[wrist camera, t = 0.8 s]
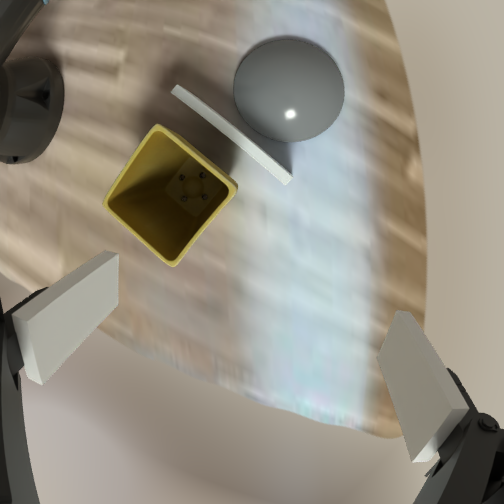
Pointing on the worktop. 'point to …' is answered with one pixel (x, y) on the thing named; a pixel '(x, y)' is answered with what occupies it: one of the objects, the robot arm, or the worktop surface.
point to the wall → (233, 134)
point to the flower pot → (168, 194)
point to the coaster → (289, 90)
